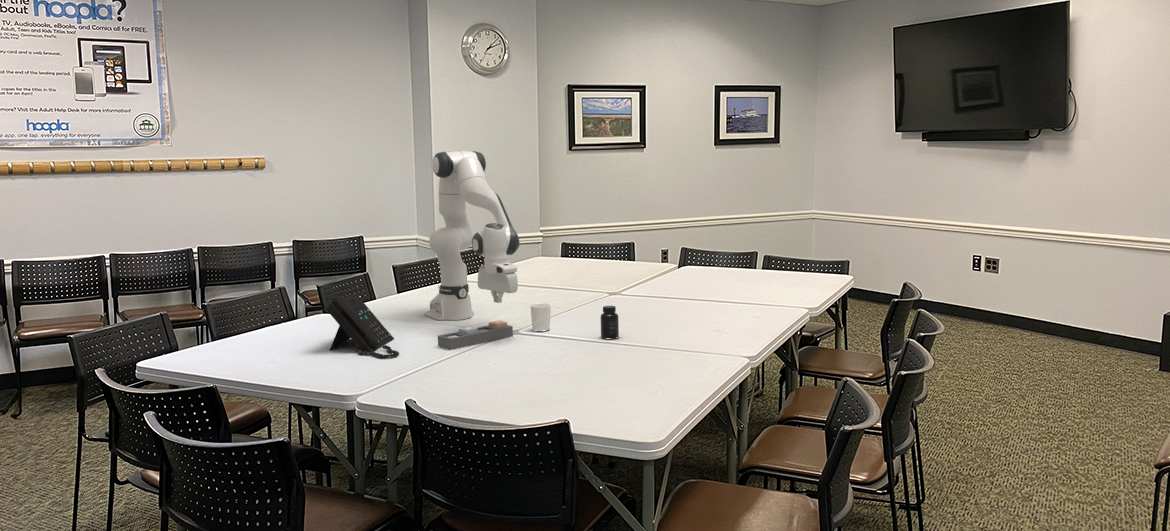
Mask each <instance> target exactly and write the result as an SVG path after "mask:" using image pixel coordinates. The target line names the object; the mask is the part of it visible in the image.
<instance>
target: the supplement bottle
mask: <svg viewBox="0 0 1170 531" xmlns="http://www.w3.org/2000/svg"><path fill="white" fill-rule="evenodd" d="M616 311H617V310H616V306H615V305H604V306H602V313H601V314H600V337H603V338H616V337H618V338H619V336H620V335H619V334H620V330H619V326H620V325H619V324H620V323H619V321H620V320H619V314H618V313H617V312H616ZM603 338H602V339H603ZM616 339H617V338H616Z"/></svg>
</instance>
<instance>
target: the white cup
mask: <svg viewBox="0 0 1170 531" xmlns="http://www.w3.org/2000/svg"><path fill="white" fill-rule="evenodd" d="M551 308H552V307H551V304H549V303H533V304H531V305H530V316H531V318H530V319H531V325H532V331H533V330H537V331H542V330H548V329H549V328H550V326H551ZM550 329H551V328H550ZM550 329H549V330H550Z"/></svg>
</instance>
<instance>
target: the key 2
mask: <svg viewBox="0 0 1170 531" xmlns="http://www.w3.org/2000/svg"><path fill="white" fill-rule="evenodd" d="M458 331H459V333H461V334H465V335H469V334H474V333H478V327H474V326H470V325H469V326H465V327H460V328H458Z"/></svg>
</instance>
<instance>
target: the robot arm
mask: <svg viewBox="0 0 1170 531" xmlns="http://www.w3.org/2000/svg"><path fill="white" fill-rule="evenodd" d="M486 166H487V162H486V157H485V156H484V154H483V153H482V152H479V151H475V150H472V151H471V150H470V151H468V150H455V151H446V152H445V151H440V152H437V153H436V154H435V155H434V156H433V159H432V170H433V174H434V175H435V176H436V177H438V178H439V180H438V212H439V214H440V215H441V216H442V218H443V220H444V223H445V224H444V225H445V227H441V228H439V229H436V230H435V231H434V232H432V233H431V234H430V236H429V240H428V243H429V247H430V249H431V250H432V251H433V252H434V254H435V255H436V258H437V261H438V264H439V269H440V285H439V286H438V293H437V295H435V296H434V298H432V300H430V302H429V311H426V312H424V316H426V317H428V318H431V319H433V320H436V321H457V320H458V321H459V320H466V319H469V318H472V317H473V315H474V314H475V312H474V311H473V310H472V301H471V296H470V295H469V292H470V291H469V289H470V286H469V283H468V266H467V264H466V263H465V262H464V261H463V259H462V255H461V252H462V251H465V250H467V249H469V248H470V247H471V248H472V251H473V252H474V253H475V254H476V255H477V256H481V257H484V260H483V261H484V263H483V264H481V265H480V266H479V268H478V274H477V287H478V289H481V290H486V291H490V294H491V296H492V298H493V302H494V303H497V304H501V303H503V296H504V295H505V294H513V293H516V292H518V288H519V287H518V286H519V285H518V284H519V283H518V282H519V281H518V275H517V273H516V272H517V271H518V267H517V266H516V265H515V264H513V263H511V262H510V261H509V259H508V256H513V255H514V254H516V252H517V251H518V249H519V247H520V237H519V235H518V233H517V231H516V230H515V229H514V226H513V225H512V222H511V220H510V218H509V214H508V213H507V211H506V208H505V205H504V204H503V201H502V199H501V197H500V196H499V195H498V194H499V193H496V192H495V191H494V190H493V189H492V188H491V187H490V185H489V184H488V182H487V181H488V180H487V178H486V175H485V171H486V168H487V167H486ZM466 203H468V204H469V205H471V206H475V207H478V208H483V209H484V210H487V211H488V212H490V213H491V214H492V215H493V217H494V220H495V222H492V223H491V222H490V223H487V224H485V225H484V227H483V229H481V231H477V232H476V233H475V231H474V230H473V228H472V227H471V226H470V222H469V220H468V216H467V210H466Z"/></svg>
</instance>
